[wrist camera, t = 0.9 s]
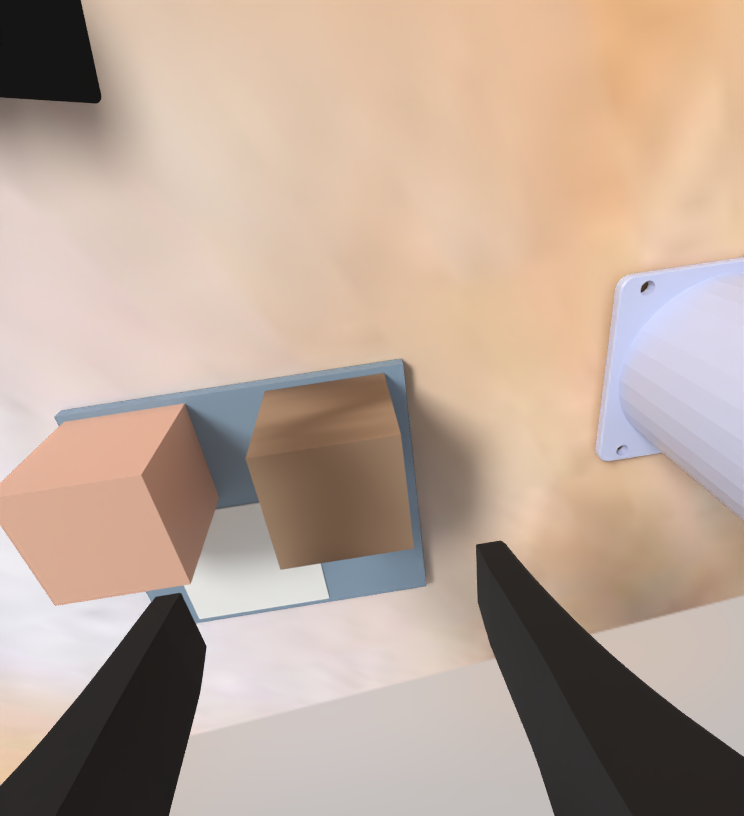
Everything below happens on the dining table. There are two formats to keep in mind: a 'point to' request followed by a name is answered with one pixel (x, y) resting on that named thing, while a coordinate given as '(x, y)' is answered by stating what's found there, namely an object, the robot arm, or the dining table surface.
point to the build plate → (46, 52)
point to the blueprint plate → (242, 515)
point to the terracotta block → (112, 505)
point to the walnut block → (331, 471)
